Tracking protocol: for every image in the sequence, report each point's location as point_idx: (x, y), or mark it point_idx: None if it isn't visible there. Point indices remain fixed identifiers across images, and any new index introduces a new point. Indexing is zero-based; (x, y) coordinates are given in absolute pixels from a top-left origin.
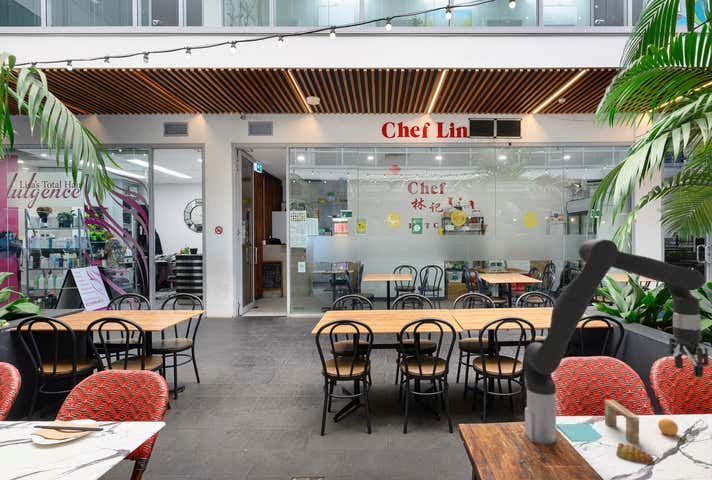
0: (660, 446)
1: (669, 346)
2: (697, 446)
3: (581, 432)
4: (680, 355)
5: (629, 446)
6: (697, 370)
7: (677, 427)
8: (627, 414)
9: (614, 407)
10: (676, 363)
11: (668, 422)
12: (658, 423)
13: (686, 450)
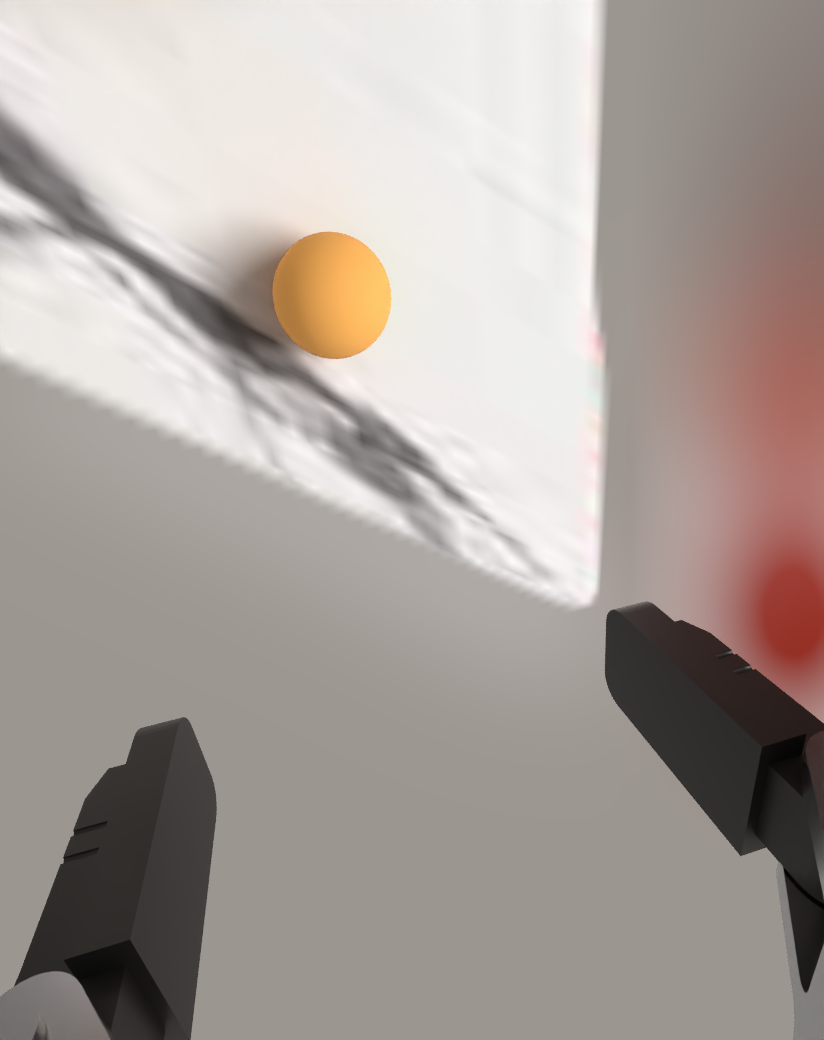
0: (74, 103)
1: None
2: (164, 386)
3: None
4: (813, 887)
5: None
6: (89, 870)
7: (302, 347)
8: None
9: None
10: (666, 657)
11: (300, 285)
12: (349, 236)
13: (67, 278)
